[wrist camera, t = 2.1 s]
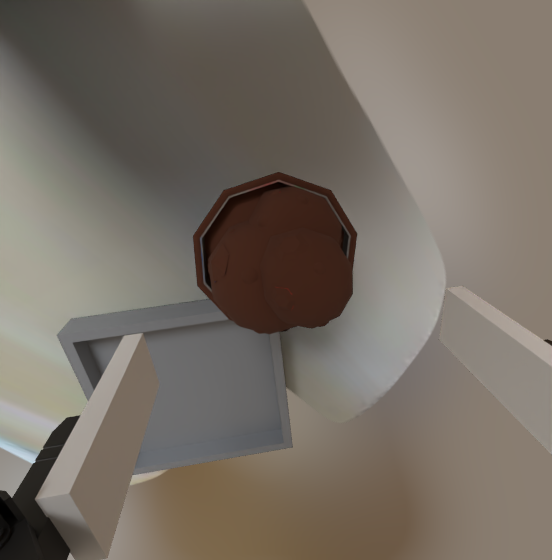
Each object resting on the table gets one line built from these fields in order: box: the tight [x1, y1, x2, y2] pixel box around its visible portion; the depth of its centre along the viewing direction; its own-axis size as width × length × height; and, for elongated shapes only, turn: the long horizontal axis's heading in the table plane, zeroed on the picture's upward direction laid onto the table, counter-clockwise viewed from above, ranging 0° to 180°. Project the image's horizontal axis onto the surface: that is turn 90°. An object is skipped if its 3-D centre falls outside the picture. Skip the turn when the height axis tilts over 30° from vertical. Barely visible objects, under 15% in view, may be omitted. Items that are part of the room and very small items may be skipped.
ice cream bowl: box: [193, 172, 357, 334], centre depth 23 cm, size 11×11×15 cm
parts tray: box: [57, 299, 293, 475], centre depth 36 cm, size 20×20×3 cm
